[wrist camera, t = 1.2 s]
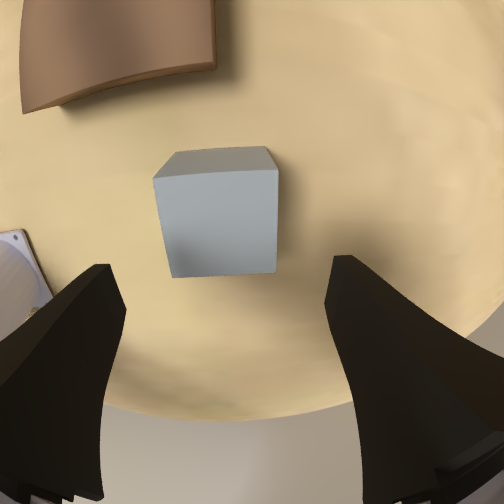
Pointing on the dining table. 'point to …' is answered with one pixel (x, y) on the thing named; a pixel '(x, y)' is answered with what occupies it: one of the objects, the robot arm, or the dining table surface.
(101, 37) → the walnut block
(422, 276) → the dining table surface
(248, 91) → the dining table surface
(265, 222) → the gray cube
